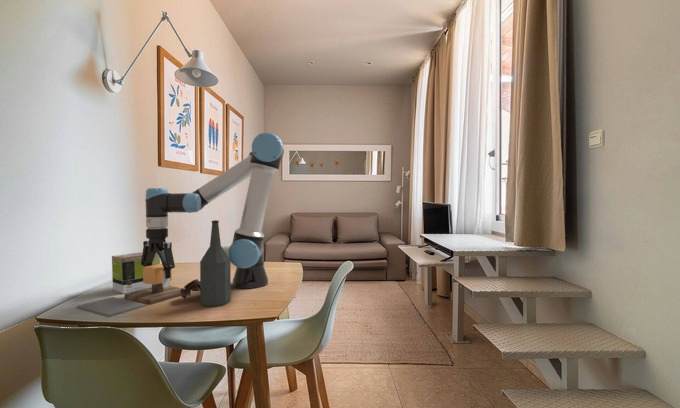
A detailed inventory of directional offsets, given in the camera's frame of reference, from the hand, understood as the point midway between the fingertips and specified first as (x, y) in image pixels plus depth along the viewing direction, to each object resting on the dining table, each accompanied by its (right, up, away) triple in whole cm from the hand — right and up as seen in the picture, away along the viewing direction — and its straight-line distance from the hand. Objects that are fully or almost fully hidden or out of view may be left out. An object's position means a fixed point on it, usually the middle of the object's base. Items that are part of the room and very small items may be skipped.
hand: (157, 285), depth 132 cm
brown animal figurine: (+17, -5, -3) cm, 18 cm away
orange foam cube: (0, +1, 0) cm, 1 cm away
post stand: (0, -4, 0) cm, 4 cm away
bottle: (+26, -5, -9) cm, 28 cm away
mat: (-9, -4, -13) cm, 17 cm away
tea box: (-15, -4, +11) cm, 19 cm away
